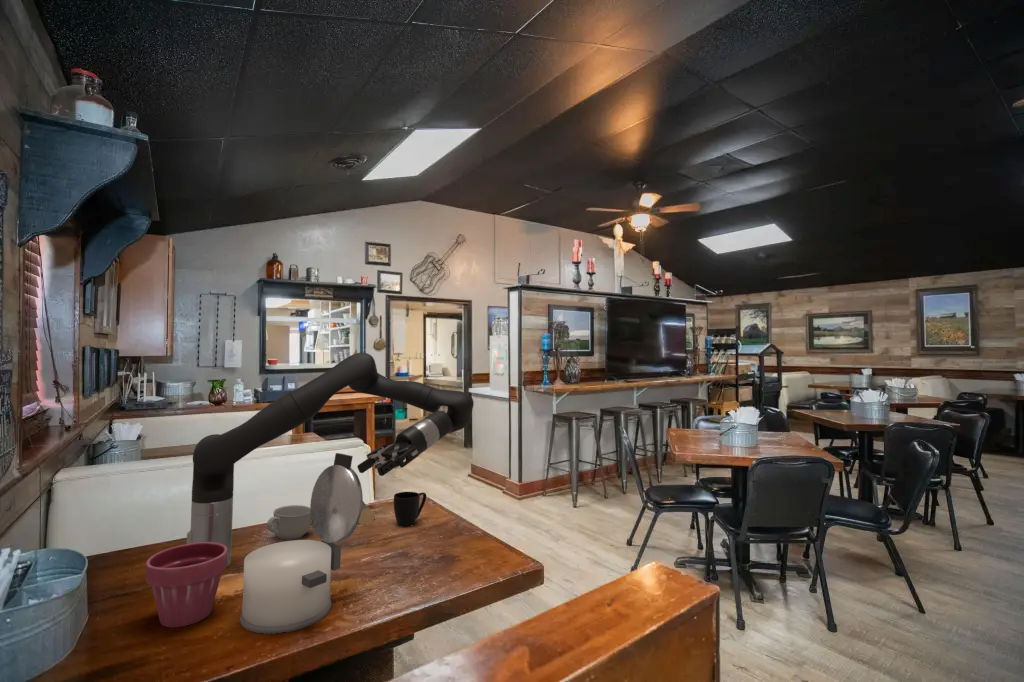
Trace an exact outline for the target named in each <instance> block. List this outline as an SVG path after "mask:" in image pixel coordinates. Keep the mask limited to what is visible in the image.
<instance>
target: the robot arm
mask: <svg viewBox="0 0 1024 682" xmlns="http://www.w3.org/2000/svg"><path fill="white" fill-rule="evenodd" d="M346 387H349V389H351V390H352V391H353V392H357V393H361V394H365V395H372V396H376V397H381V398H385V399H389V400H394V401H398V402H400V403H401V402H402V403H403V404H407V405H410V406H412V407H415V408H416V409H420V410H423V411H425V412H429V413H430V414H429V415H428V416H426V417H424V418H422V419H420V420H419V421H417V422H415V423H413V424H411V425H410V426H409V427H407V428H405V429H404V430H402V431H401V432H399V433H398V434H397V435H396V436H395V442H394V443H392V444H389V445H387V444H386V443H384V444H382V445H381V446H379V447H377V448H376V449H374V450H372V451H371V452H369V453H367V454H366V458H367V459H365V460H364V461H361V463H359V464H357V470H358V472H359V473H361V474H364V473H365V472H366V471H368V470H369V469H371V468H373V467H374V466H377V465H378V464H379V466H378V467H377V469H376V470H377V473H378V476H380V477H384V476H385V475H386V474H388V473H389V472H391V471H392V470H393V469H395V470H396V469H398V468H399V467H400V468H401V469H402V468H404V467H406V466H408V464H410V463H411V462H413V461H414V460H415V459H416V458H418V457H419V456H420V455H421V454H422V453H424V452H426V451H427V450H428V449H430V448H431V447H432V446H434V444H436V443H437V442H438V441H439V440H441V439H442V438H444V437H445V436H446V435H448V434H451V433H455V432H457V431H460V430H462V429H464V428H465V427H466V426H467V425H468V424H470V421H471V417H472V413H473V408H474V400H473V398H472V397H471V395H469V393H467V392H464V391H460V390H452V389H450V390H448V389H439V388H437V387H434V386H432V385H431V386H430V385H428V384H427V383H423V382H420V381H413V380H395V379H392V378H388V377H386V376H384V375H382V374H381V373H379V372H378V369H377V365H376V360H375V358H374V357H373V355H371V354H369V353H367V352H356V353H354V354H352V355H349V356H348V357H346V358H344V359H343V360H342V361H340V362H338V363H337V364H336V365H334V366H332V367H331V368H330V369H328V370H327V371H325V372H324V373H321V375H318V376H317V377H314V378H313V379H312V380H310V381H308V382H306V383H305V384H303V385H301V386H299V387H298V388H295V389H294V390H291V391H290V392H288V393H286V394H284V395H282V396H280V397H279V398H277V399H275V400H274V401H272V402H270V403H269V404H268V405H266V406H264V407H263V408H261V410H259V411H258V412H256V413H255V414H254V415H253V416H251V418H249V419H248V420H247V421H245V422H244V423H242V424H240V425H238V426H236V427H234V428H232V429H230V430H228V431H226V432H224V433H221V434H219V433H216V434H215V433H214V434H209V435H207V436H205V437H203V438H202V439H200V440H199V441H198V442H197V443H196V445H195V447H194V450H193V453H192V463H193V467H192V468H193V471H192V487H191V507H190V508H191V510H190V511H191V512H190V514H191V515H190V530H189V531H188V532H187V533H186V544H190V543H199V542H214V543H220V544H223V545H225V546H226V547H227V567H229V566H230V565H231V563H232V562H231V561H232V544H233V543H232V541H233V539H232V538H233V516H234V515H233V513H234V511H233V510H234V485H235V484H234V481H235V479H234V478H235V477H234V476H235V473H234V471H235V464H236V463H237V462H239V461H240V460H241V459H243V458H244V457H246V456H247V455H249V454H250V453H251V452H253V451H255V450H256V449H258V448H259V447H261V446H263V445H265V444H268V443H269V442H271V441H273V440H275V439H277V438H279V437H281V436H283V435H285V434H286V433H288V432H291V431H292V430H294V429H296V428H298V427H299V426H301V425H303V424H304V423H306V422H308V421H309V420H311V419H312V418H314V417H315V416H316V415H317V414H318V413H319V412H320V410H321V409H322V408H323V407H324V406H325V405H326V404H327V403H328V401H330V399H331V398H332V397H333V396H334V395H336V394H337V393H338V392H340V391H341V390H343V389H345V388H346ZM441 407H447V412H445V411H444V410H440V408H441ZM380 464H381V465H380Z"/></svg>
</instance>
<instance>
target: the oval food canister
mask: <svg viewBox="0 0 1024 682" xmlns="http://www.w3.org/2000/svg"><path fill="white" fill-rule="evenodd" d="M341 549H342V546H341V544H340V545H339V544H338V543H336V542H333V543H327V542H324V541H323V540H321V541H319V540H312V539H293V540H286V541H285V540H284V541H280V542H275V543H270V544H267V545H264V546H261V547H259V548H256V549H254V550H253V551H251V552H249V553H248V554H247V555H246V556H245V557H244V558H243V559H244V560H243V582H242V583H243V584H242V586H243V587H242V588H243V589H242V609H241V612H240V621H239V622H240V625H241V626H242V628H244V629H245V630H246V629H247V631H248V630H249V632H251V631H252V633H255V632H256V633H255V634H260V633H264V634H263V635H277V634H276V633H278V634H283V633H282V632H286V633H291V632H295V631H297V630H302V629H304V628H307V627H309V626H311V625H314V624H315V623H318V622H319V621H320V620H322V619H324V618H325V617H326V616H327V614H328V613H330V610H331V608H332V597H331V576H332V575H331V573H332V572H331V570H332V571H337V570H339V569H341V553H342V550H341ZM271 633H272V634H271Z"/></svg>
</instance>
